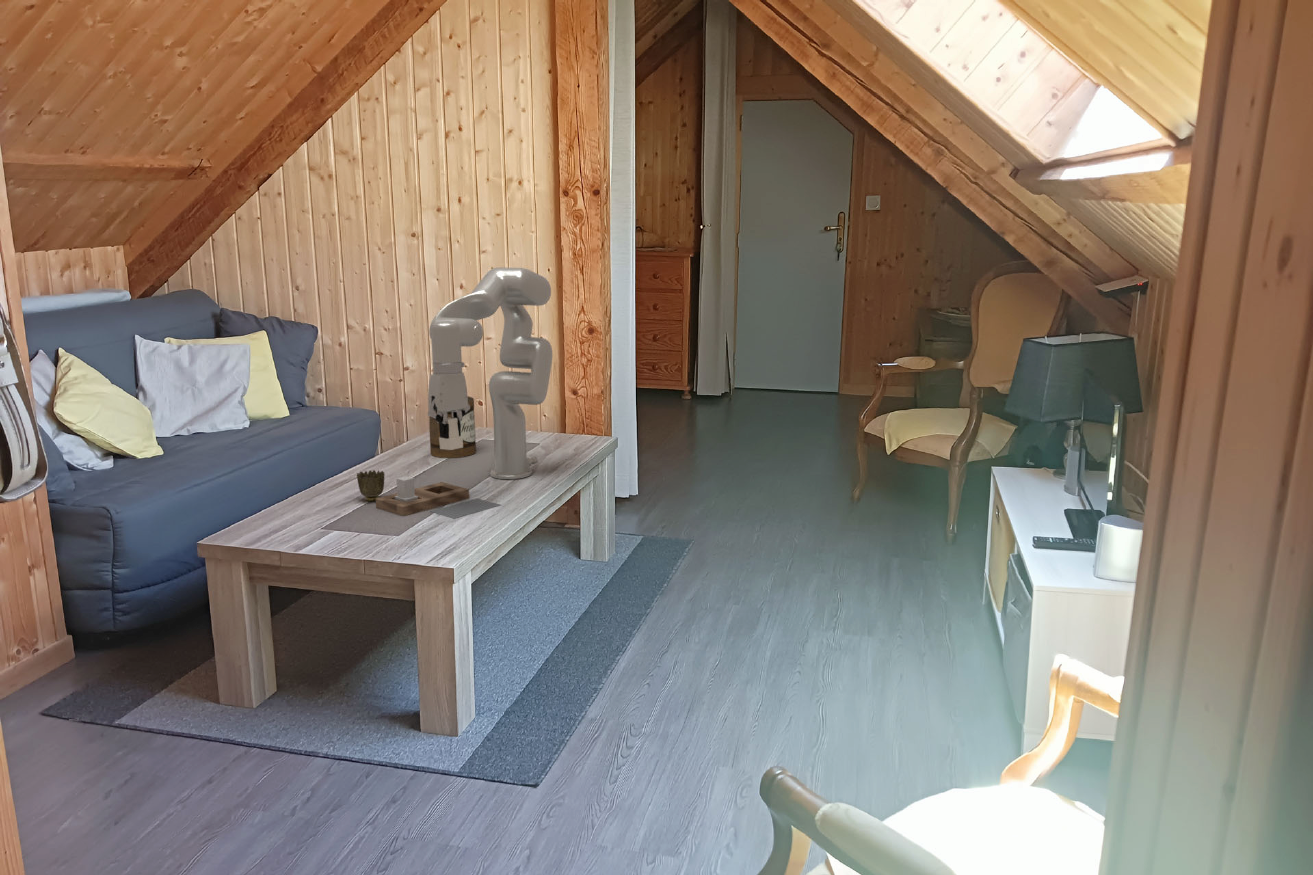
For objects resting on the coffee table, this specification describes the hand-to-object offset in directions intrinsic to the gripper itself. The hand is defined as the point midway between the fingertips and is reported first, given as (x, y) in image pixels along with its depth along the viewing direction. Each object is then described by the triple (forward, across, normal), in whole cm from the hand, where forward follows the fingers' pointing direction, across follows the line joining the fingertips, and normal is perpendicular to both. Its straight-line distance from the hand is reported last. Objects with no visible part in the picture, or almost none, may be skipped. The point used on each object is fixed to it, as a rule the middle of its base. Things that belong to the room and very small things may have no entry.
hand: (450, 436), depth 265 cm
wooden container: (+19, -39, -49) cm, 66 cm away
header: (+19, +5, -7) cm, 21 cm away
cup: (+20, +12, -20) cm, 31 cm away
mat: (+19, 0, +6) cm, 20 cm away
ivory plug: (+3, 0, 0) cm, 3 cm away
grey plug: (+19, +10, -7) cm, 23 cm away
